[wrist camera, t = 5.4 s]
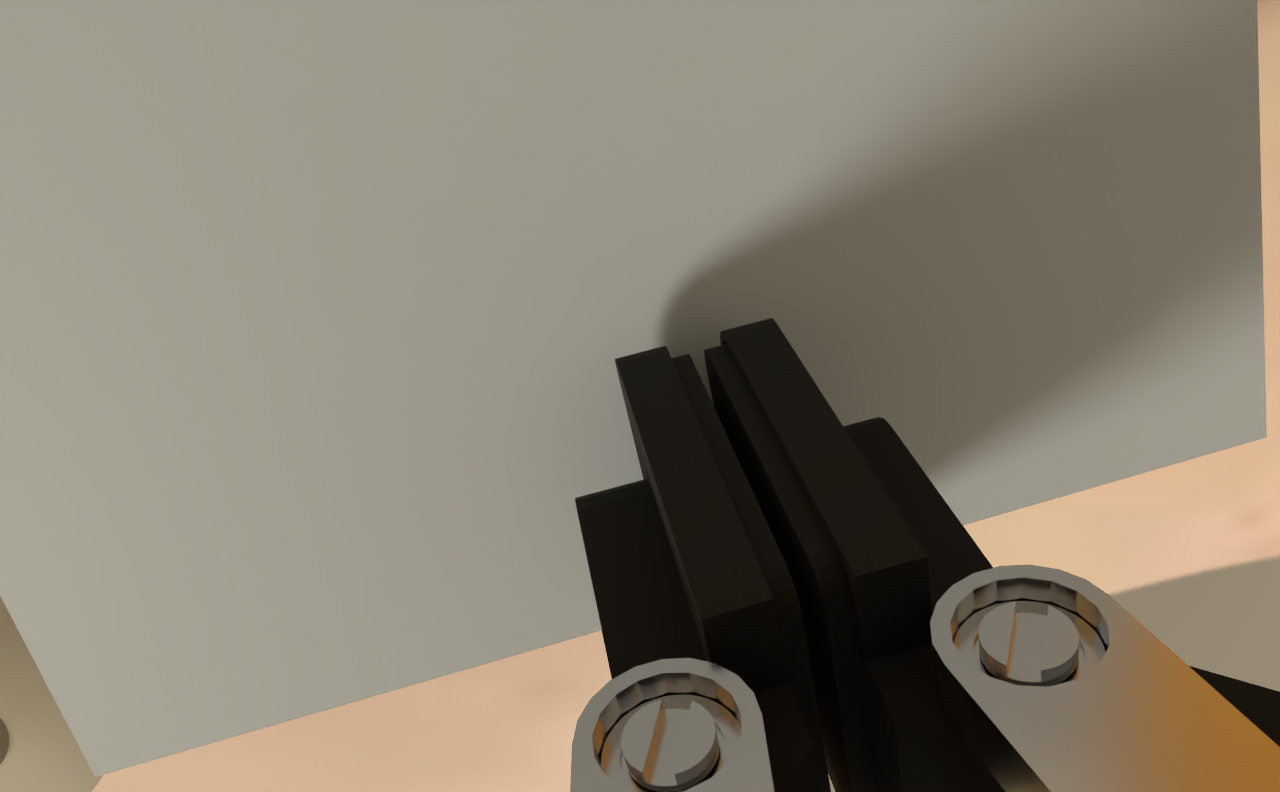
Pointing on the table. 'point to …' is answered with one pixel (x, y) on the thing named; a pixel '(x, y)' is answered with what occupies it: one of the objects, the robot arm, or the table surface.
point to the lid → (559, 298)
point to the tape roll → (34, 726)
